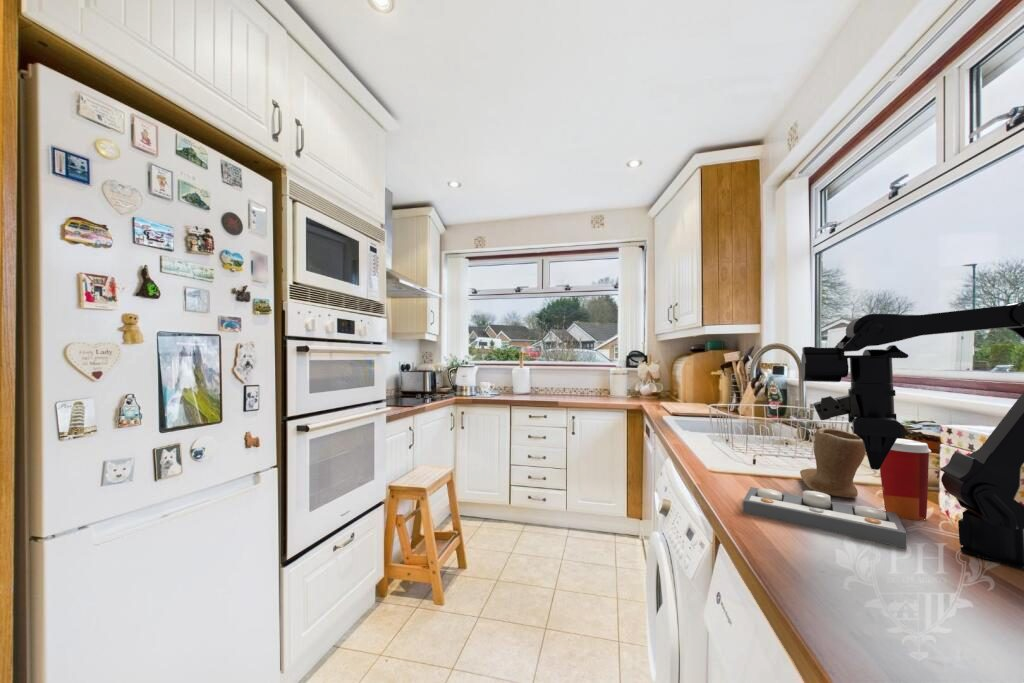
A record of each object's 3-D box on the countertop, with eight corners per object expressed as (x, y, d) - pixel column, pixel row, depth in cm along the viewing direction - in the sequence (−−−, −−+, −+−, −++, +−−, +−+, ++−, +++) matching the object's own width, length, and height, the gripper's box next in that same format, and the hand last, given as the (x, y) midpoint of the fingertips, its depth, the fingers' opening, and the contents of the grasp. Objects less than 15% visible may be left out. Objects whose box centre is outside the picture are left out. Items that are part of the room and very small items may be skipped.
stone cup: (874, 506, 84) (872, 436, 85) (806, 496, 90) (804, 431, 91) (858, 486, 97) (855, 426, 98) (799, 479, 103) (797, 422, 104)
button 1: (782, 500, 84) (782, 491, 84) (781, 506, 80) (781, 497, 80) (759, 496, 86) (758, 487, 87) (756, 501, 83) (756, 492, 83)
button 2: (885, 520, 74) (884, 509, 74) (888, 528, 70) (887, 516, 70) (854, 514, 76) (853, 504, 77) (855, 521, 73) (855, 510, 73)
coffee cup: (908, 507, 83) (905, 437, 84) (947, 523, 75) (943, 446, 76) (866, 506, 84) (863, 436, 85) (900, 522, 76) (897, 445, 77)
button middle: (830, 503, 79) (830, 493, 79) (830, 510, 75) (830, 499, 75) (803, 498, 81) (803, 489, 82) (802, 505, 78) (802, 494, 78)
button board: (897, 526, 74) (896, 510, 74) (907, 548, 65) (906, 530, 65) (750, 498, 89) (750, 485, 89) (743, 512, 80) (743, 498, 80)
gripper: (816, 379, 83) (818, 452, 82) (815, 383, 69) (818, 472, 68) (887, 381, 76) (891, 461, 76) (903, 386, 62) (907, 485, 61)
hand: (874, 469), depth 70 cm, fingers closed
